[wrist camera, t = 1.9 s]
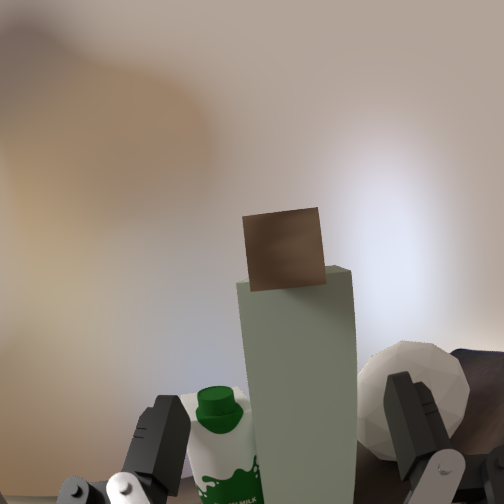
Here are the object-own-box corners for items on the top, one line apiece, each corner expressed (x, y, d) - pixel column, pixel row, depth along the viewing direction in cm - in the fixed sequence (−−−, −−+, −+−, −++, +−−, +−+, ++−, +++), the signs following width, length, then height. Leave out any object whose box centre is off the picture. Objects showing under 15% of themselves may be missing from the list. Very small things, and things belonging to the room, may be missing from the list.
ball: (371, 483, 40) (305, 404, 47) (437, 409, 49) (381, 337, 56) (441, 492, 24) (355, 386, 32) (507, 387, 33) (440, 294, 40)
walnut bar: (250, 291, 17) (242, 216, 17) (280, 271, 38) (276, 237, 38) (326, 284, 16) (317, 207, 16) (314, 267, 37) (310, 233, 37)
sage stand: (271, 546, 24) (236, 283, 25) (281, 485, 37) (259, 273, 38) (348, 542, 23) (351, 270, 24) (342, 481, 36) (334, 265, 36)
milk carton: (209, 531, 28) (175, 407, 28) (199, 492, 36) (172, 378, 37) (275, 517, 30) (260, 393, 30) (256, 482, 39) (240, 368, 39)
